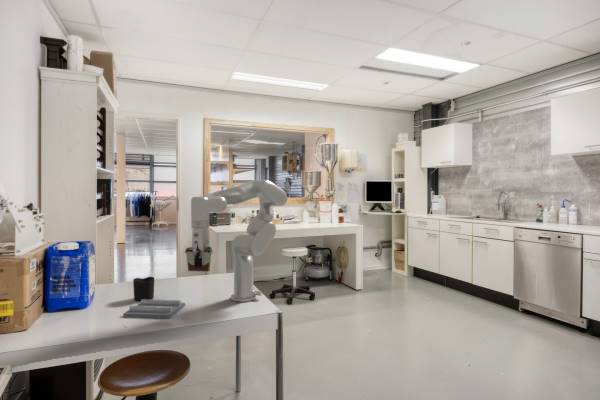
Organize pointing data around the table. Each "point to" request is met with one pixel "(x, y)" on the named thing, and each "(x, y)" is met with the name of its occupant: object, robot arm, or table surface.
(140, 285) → the pen holder
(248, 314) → the table surface
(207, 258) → the food container
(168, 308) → the rail plate
